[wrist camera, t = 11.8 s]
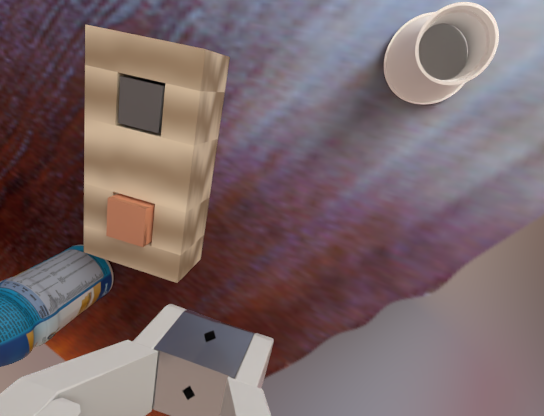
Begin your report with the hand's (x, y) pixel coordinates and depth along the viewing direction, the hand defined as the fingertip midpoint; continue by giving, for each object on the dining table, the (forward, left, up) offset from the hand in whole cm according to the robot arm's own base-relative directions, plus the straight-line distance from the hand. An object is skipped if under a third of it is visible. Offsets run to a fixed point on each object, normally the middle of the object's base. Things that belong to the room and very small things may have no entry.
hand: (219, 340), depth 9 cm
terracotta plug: (+10, -18, -27) cm, 34 cm away
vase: (-11, +7, -29) cm, 32 cm away
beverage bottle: (+23, -28, -29) cm, 46 cm away
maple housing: (+4, -18, -29) cm, 34 cm away
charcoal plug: (-2, -18, -28) cm, 34 cm away
